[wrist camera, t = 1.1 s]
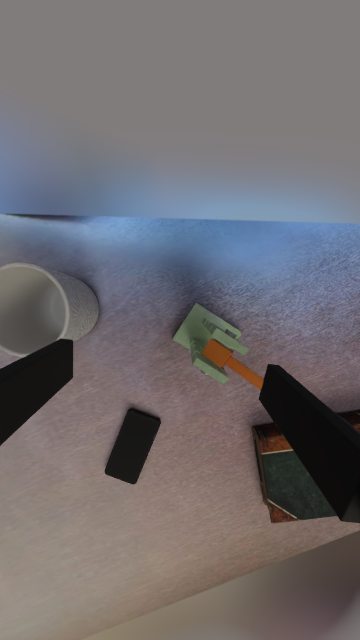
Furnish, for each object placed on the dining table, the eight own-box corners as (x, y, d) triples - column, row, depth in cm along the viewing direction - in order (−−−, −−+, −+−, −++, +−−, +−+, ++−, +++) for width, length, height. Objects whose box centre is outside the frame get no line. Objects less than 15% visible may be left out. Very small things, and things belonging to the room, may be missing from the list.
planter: (95, 267, 33) (51, 250, 22) (114, 331, 34) (80, 345, 23) (33, 284, 34) (-38, 275, 23) (53, 347, 35) (-7, 366, 24)
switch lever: (335, 412, 18) (353, 426, 15) (313, 439, 19) (326, 459, 15) (218, 334, 24) (213, 332, 20) (203, 356, 24) (196, 358, 21)
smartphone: (161, 421, 35) (135, 486, 36) (162, 419, 36) (136, 482, 37) (128, 409, 35) (103, 474, 36) (129, 406, 35) (105, 470, 37)
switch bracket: (240, 331, 33) (278, 351, 20) (216, 366, 34) (237, 408, 20) (195, 302, 33) (202, 302, 19) (172, 338, 34) (163, 362, 20)
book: (263, 503, 37) (390, 487, 35) (271, 524, 33) (413, 508, 32) (251, 424, 35) (383, 405, 34) (258, 438, 32) (406, 417, 30)
